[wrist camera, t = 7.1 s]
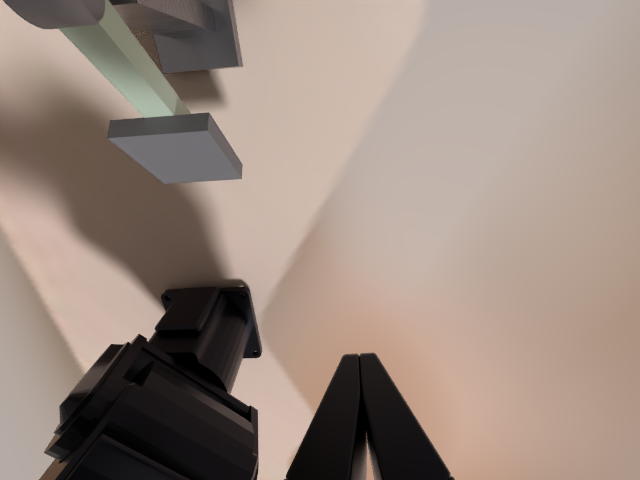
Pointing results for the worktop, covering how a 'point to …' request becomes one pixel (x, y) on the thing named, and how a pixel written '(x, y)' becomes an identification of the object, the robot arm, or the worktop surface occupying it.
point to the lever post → (186, 32)
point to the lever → (139, 94)
